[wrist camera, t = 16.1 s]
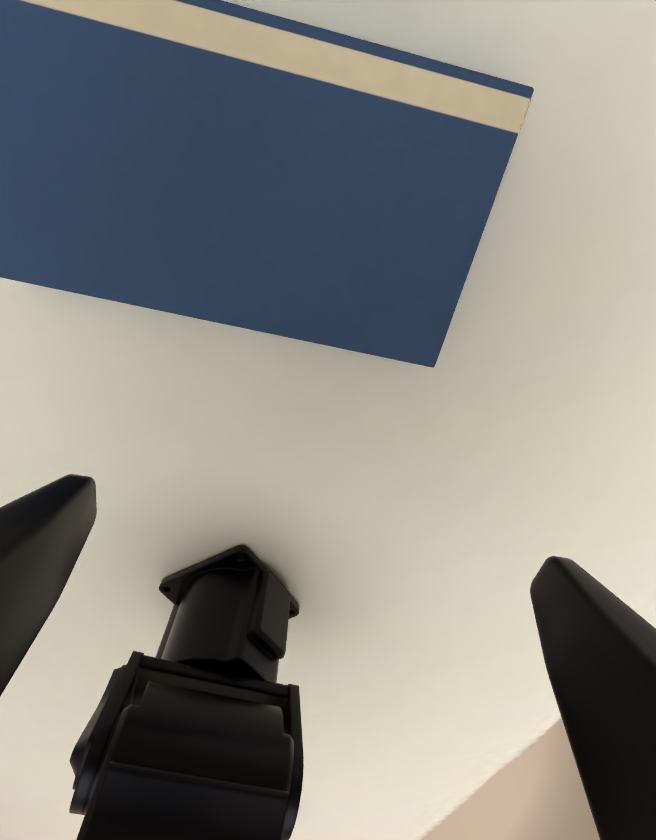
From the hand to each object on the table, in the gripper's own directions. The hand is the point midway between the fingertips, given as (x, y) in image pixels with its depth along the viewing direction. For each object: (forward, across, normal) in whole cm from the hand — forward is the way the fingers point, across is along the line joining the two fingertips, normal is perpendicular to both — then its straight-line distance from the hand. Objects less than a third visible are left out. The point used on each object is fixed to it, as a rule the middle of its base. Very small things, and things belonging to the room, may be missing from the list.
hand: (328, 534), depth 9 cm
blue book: (+13, +4, -5) cm, 14 cm away
